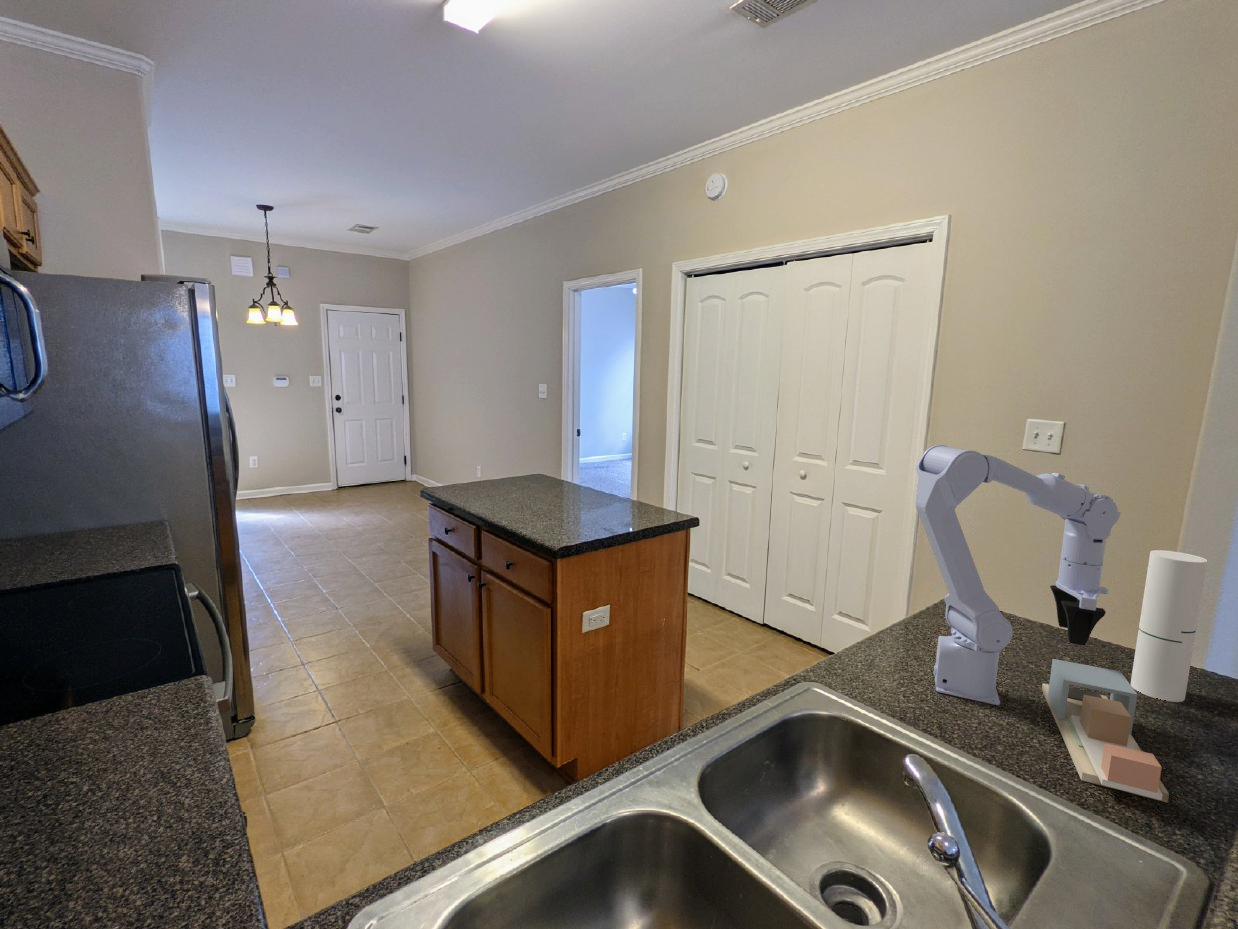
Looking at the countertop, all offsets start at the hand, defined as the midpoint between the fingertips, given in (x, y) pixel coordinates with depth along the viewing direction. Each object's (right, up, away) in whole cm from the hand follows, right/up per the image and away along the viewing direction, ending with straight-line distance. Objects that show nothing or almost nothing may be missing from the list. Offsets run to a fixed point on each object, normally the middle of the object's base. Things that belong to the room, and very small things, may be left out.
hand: (1071, 635), depth 101 cm
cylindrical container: (+17, -11, +2) cm, 20 cm away
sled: (-9, -11, -19) cm, 24 cm away
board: (-6, -12, -12) cm, 18 cm away
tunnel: (-4, -12, -8) cm, 14 cm away
